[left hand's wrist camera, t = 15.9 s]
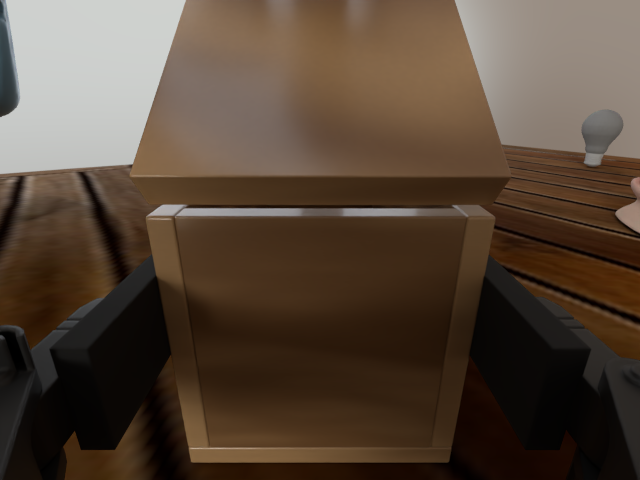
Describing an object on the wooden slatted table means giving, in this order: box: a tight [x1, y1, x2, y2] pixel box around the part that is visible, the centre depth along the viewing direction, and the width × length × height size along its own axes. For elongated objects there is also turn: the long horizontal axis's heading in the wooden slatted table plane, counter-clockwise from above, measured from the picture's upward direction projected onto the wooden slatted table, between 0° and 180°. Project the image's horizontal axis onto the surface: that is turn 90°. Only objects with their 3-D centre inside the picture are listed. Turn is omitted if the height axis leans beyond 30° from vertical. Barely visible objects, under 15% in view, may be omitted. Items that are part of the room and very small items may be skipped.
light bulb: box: [582, 110, 623, 166], centre depth 67 cm, size 6×6×10 cm
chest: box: [146, 205, 495, 463], centre depth 19 cm, size 17×9×9 cm, turn 0°
